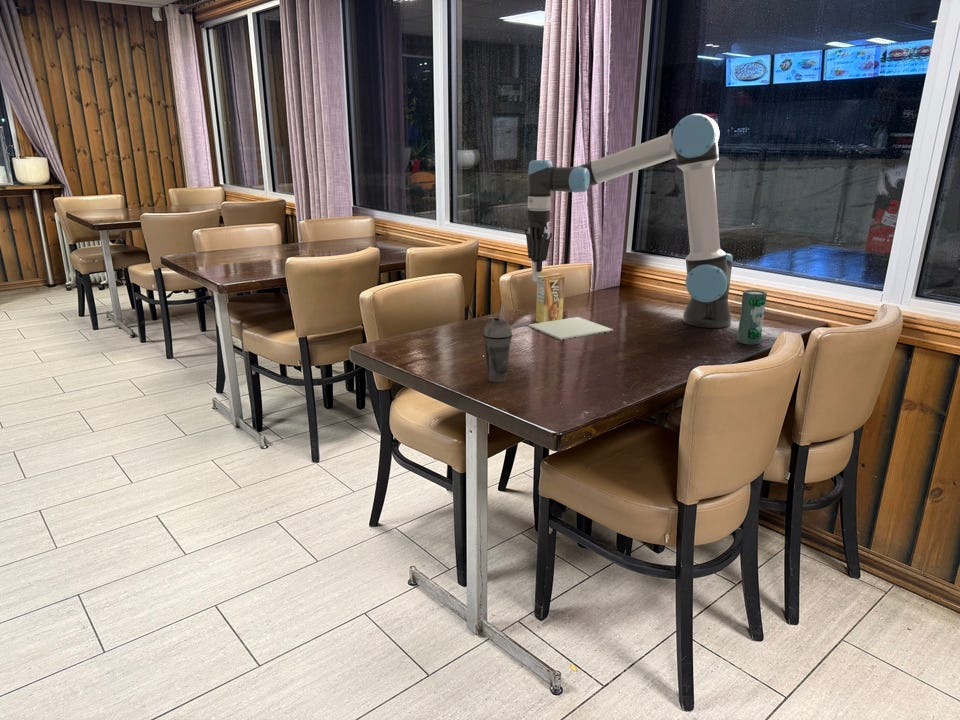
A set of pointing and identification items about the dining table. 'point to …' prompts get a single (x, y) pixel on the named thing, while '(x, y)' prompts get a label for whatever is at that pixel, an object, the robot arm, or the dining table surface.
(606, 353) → the dining table surface
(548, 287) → the candy box
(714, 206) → the robot arm
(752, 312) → the can
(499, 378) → the beverage cup
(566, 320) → the mat
